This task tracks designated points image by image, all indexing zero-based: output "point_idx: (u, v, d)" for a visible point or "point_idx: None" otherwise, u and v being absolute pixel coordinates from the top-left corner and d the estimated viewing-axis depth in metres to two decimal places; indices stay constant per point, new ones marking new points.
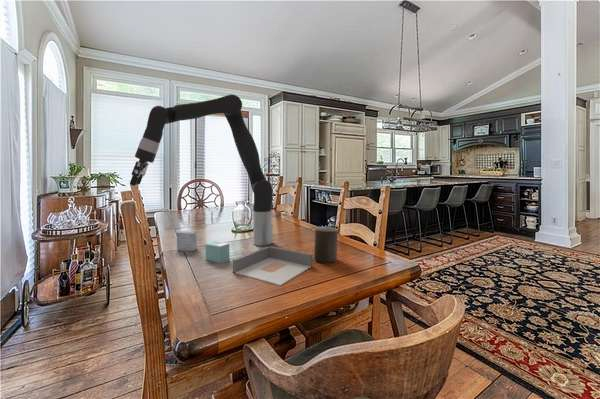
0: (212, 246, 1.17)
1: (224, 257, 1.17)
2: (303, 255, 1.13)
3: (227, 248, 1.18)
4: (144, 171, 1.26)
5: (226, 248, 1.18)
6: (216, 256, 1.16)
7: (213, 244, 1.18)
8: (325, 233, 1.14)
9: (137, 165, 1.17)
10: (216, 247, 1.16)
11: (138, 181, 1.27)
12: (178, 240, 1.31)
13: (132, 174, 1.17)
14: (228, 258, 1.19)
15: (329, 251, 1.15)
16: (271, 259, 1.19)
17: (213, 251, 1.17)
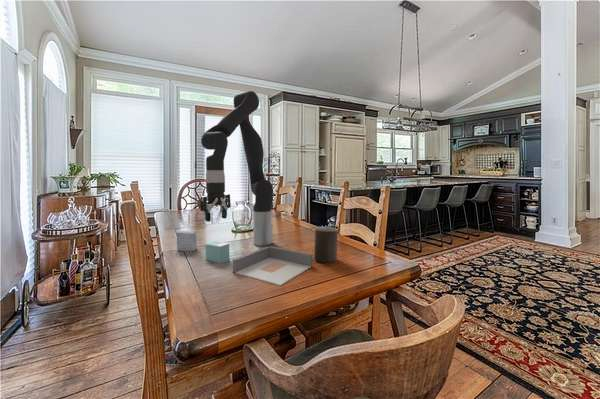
0: (212, 246, 1.17)
1: (224, 257, 1.17)
2: (303, 255, 1.13)
3: (227, 248, 1.18)
4: (209, 204, 1.16)
5: (226, 248, 1.17)
6: (216, 256, 1.16)
7: (213, 244, 1.18)
8: (325, 233, 1.14)
9: None
10: (216, 247, 1.16)
11: None
12: (178, 240, 1.31)
13: (229, 207, 1.23)
14: (228, 258, 1.19)
15: (329, 251, 1.15)
16: (271, 259, 1.19)
17: (213, 251, 1.17)
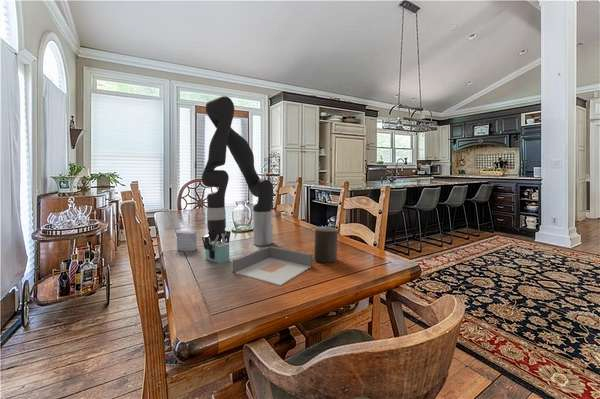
0: None
1: (224, 256, 1.17)
2: (303, 255, 1.13)
3: (227, 248, 1.18)
4: None
5: (226, 248, 1.18)
6: (216, 256, 1.16)
7: None
8: (325, 233, 1.14)
9: None
10: (216, 247, 1.16)
11: None
12: (178, 240, 1.31)
13: None
14: (228, 258, 1.19)
15: (329, 251, 1.15)
16: (271, 259, 1.19)
17: None
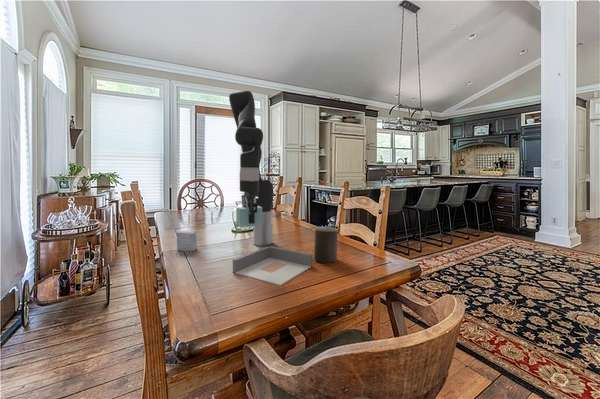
0: None
1: None
2: (303, 255, 1.13)
3: None
4: (247, 204, 1.09)
5: None
6: (256, 219, 1.10)
7: None
8: (325, 233, 1.14)
9: None
10: None
11: None
12: (178, 240, 1.31)
13: None
14: None
15: (329, 251, 1.15)
16: (271, 259, 1.19)
17: None
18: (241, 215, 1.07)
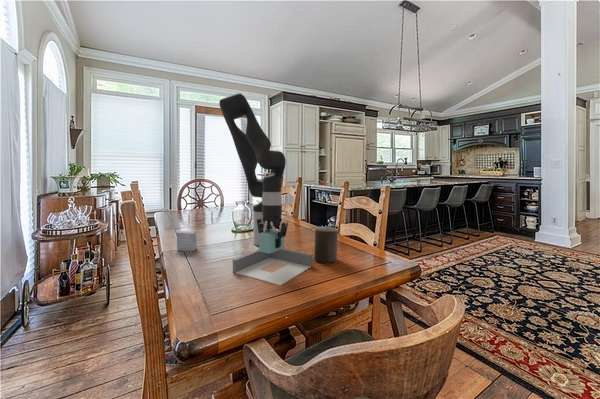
0: None
1: None
2: (303, 255, 1.13)
3: None
4: (272, 229, 1.06)
5: None
6: None
7: None
8: (325, 233, 1.14)
9: None
10: None
11: None
12: (178, 240, 1.31)
13: None
14: None
15: (329, 251, 1.15)
16: (271, 259, 1.19)
17: None
18: (270, 241, 1.04)
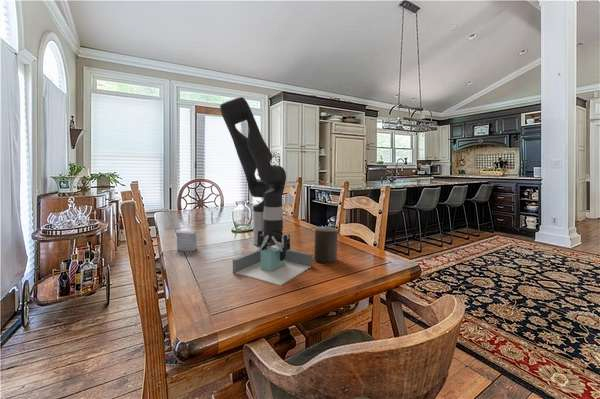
0: (277, 251, 1.08)
1: None
2: (303, 255, 1.13)
3: None
4: (275, 243, 1.07)
5: None
6: None
7: (274, 250, 1.08)
8: (325, 233, 1.14)
9: None
10: None
11: None
12: (178, 240, 1.31)
13: None
14: None
15: (329, 251, 1.15)
16: None
17: (278, 256, 1.09)
18: (271, 259, 1.05)
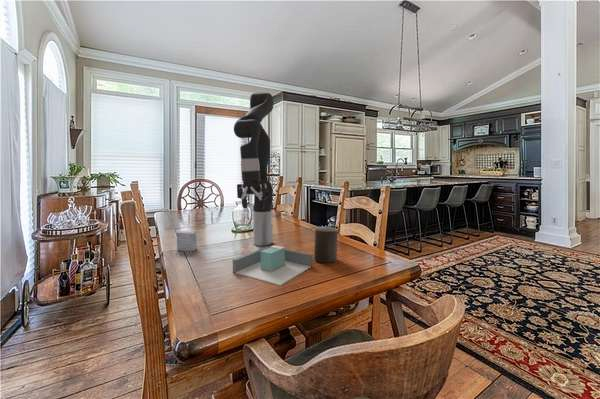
0: (277, 251, 1.08)
1: None
2: (303, 255, 1.13)
3: None
4: (254, 193, 1.14)
5: None
6: (281, 259, 1.11)
7: (274, 250, 1.08)
8: (325, 233, 1.14)
9: None
10: (281, 250, 1.10)
11: None
12: (178, 240, 1.31)
13: None
14: None
15: (329, 251, 1.15)
16: None
17: (278, 256, 1.09)
18: (271, 259, 1.05)
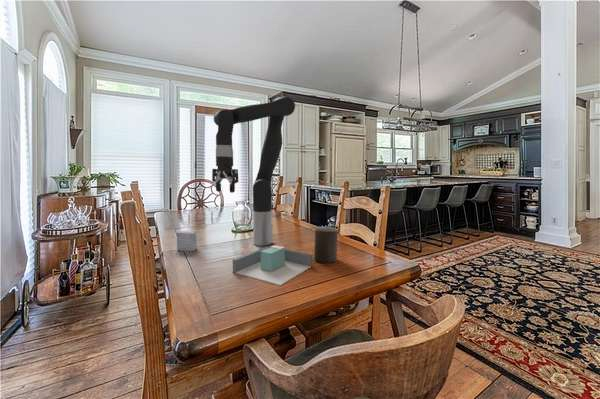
0: (277, 251, 1.08)
1: None
2: (303, 255, 1.13)
3: None
4: (226, 177, 1.24)
5: None
6: (281, 259, 1.11)
7: (274, 250, 1.08)
8: (325, 233, 1.14)
9: None
10: (281, 250, 1.10)
11: None
12: (178, 240, 1.31)
13: None
14: None
15: (329, 251, 1.15)
16: None
17: (278, 256, 1.09)
18: (271, 259, 1.05)
